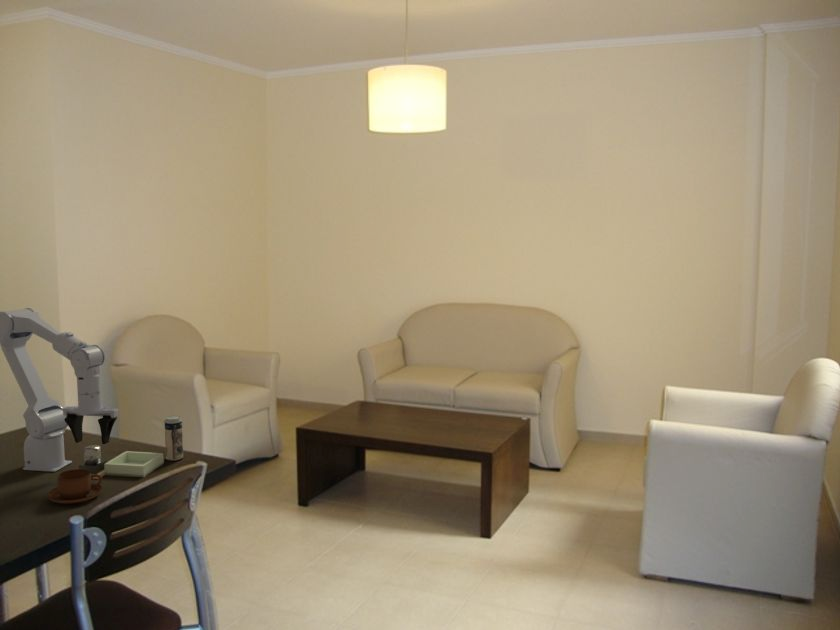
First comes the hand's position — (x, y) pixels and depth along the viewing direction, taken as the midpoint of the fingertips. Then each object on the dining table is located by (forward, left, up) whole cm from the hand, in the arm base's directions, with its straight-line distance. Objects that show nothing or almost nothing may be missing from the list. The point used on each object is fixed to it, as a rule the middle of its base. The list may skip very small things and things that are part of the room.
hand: (92, 442), depth 199 cm
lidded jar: (+15, +15, -9) cm, 23 cm away
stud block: (0, 0, -9) cm, 9 cm away
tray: (+9, +5, -9) cm, 13 cm away
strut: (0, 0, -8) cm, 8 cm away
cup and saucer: (+5, -16, -9) cm, 20 cm away
